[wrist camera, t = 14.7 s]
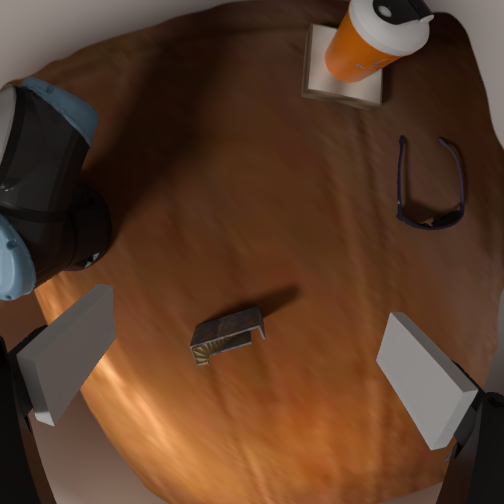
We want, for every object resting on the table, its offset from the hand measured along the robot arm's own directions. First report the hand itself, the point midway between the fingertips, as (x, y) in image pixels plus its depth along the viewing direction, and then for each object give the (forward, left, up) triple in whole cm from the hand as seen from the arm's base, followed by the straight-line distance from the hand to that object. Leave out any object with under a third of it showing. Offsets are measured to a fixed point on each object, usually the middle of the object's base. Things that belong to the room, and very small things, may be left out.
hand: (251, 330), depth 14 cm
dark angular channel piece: (-1, -18, -37) cm, 42 cm away
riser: (+12, +26, -37) cm, 47 cm away
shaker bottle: (+12, +26, -33) cm, 43 cm away
